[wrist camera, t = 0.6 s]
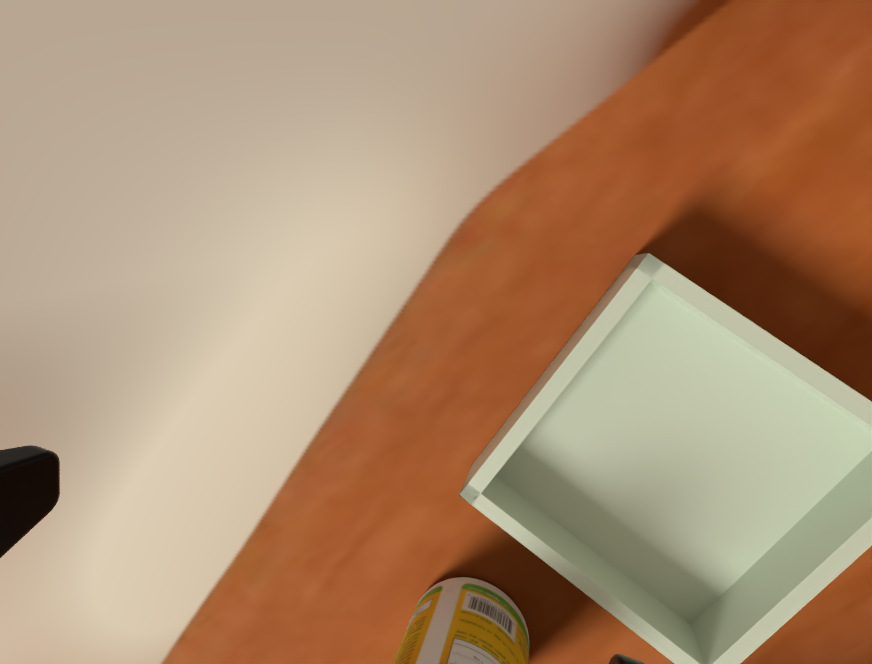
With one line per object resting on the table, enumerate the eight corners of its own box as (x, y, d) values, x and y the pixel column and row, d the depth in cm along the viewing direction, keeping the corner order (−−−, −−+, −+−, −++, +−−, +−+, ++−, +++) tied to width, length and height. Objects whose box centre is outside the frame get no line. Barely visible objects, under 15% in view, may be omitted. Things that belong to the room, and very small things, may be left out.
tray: (688, 630, 20) (709, 690, 17) (472, 464, 22) (459, 494, 19) (896, 430, 17) (963, 462, 15) (634, 255, 19) (648, 253, 16)
